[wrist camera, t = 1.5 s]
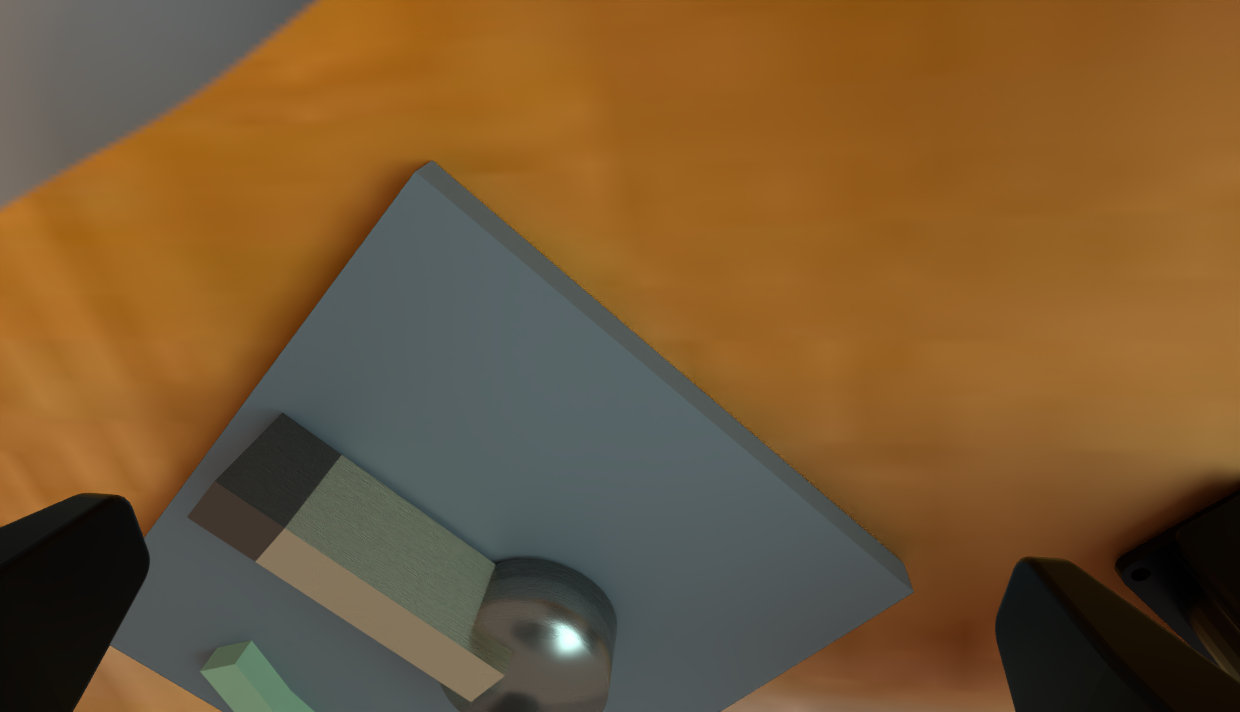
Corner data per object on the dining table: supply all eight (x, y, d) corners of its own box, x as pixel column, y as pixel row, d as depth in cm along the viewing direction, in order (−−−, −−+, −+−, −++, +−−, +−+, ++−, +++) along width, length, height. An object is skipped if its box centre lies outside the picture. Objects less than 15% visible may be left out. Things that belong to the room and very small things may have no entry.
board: (903, 563, 22) (922, 618, 20) (485, 831, 31) (470, 888, 29) (432, 160, 18) (399, 181, 16) (103, 601, 27) (56, 649, 25)
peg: (650, 623, 23) (642, 714, 20) (550, 695, 25) (530, 787, 22) (311, 374, 20) (245, 439, 17) (230, 479, 22) (159, 552, 19)
